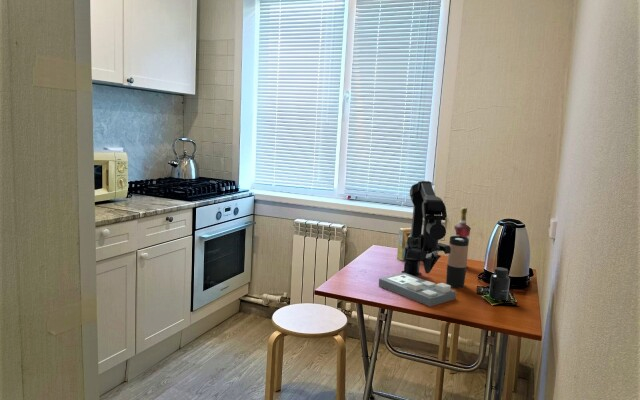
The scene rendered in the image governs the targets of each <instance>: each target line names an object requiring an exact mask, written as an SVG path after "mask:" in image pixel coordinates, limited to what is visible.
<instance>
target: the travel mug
mask: <svg viewBox="0 0 640 400" xmlns="http://www.w3.org/2000/svg"><path fill="white" fill-rule="evenodd" d="M469 242H470V238H469V239H468V238H466V237H461V236H454V235H451V236H450V237H449V243H448V245H449V246H450V248H451V252H450V253H449V254H447V263H446V278H445V279H446V280H445V281H446V282H445V284H447V285H450V286H451V288H455V289H461V288H463V287H464V286H465V281H466V280H465V279H466V274H467V273H466V272H467V266H468V265H467V264H468V252H469Z"/></svg>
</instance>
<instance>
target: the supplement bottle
mask: <svg viewBox="0 0 640 400" xmlns="http://www.w3.org/2000/svg"><path fill="white" fill-rule="evenodd" d="M508 275H509V270H508V268H505V267H501V266H500V267H499V266H498V267H496V266H495V267H494V271H493V274H491V276H490V283H489V291H488V292H489V293H488V298H489V297H491V298H492V299H495V300H507V301H508V299H509V298H508V297H509V291H510V283H511V278H510V277H509V276H508ZM492 299H491V300H492Z"/></svg>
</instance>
